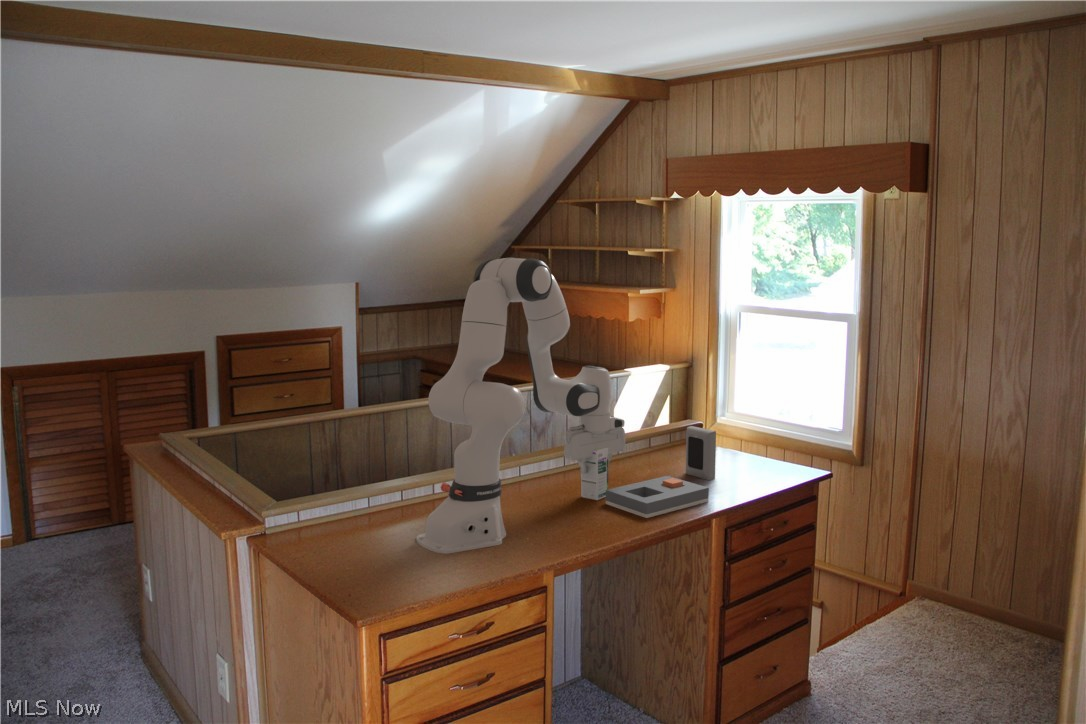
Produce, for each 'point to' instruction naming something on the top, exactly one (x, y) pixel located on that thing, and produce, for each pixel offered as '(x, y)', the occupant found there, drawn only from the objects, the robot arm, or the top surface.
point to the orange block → (672, 483)
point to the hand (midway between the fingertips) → (594, 470)
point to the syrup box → (595, 475)
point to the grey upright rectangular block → (700, 452)
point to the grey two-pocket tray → (656, 497)
